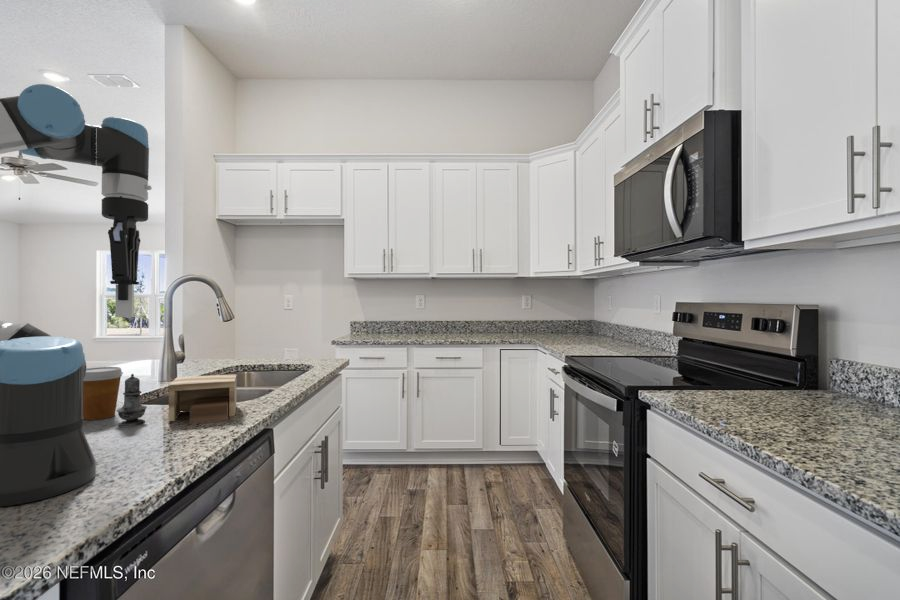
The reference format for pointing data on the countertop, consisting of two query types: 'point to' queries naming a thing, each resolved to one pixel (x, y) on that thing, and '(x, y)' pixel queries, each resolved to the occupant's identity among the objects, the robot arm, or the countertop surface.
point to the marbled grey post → (131, 404)
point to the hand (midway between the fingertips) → (124, 316)
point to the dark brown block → (209, 410)
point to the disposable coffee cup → (100, 392)
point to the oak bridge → (200, 392)
